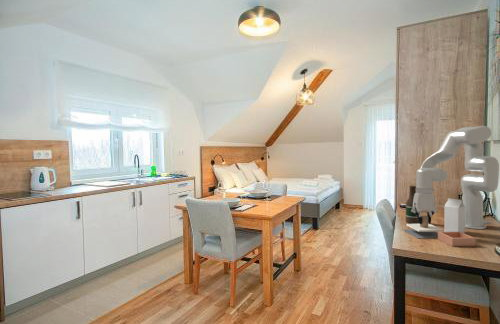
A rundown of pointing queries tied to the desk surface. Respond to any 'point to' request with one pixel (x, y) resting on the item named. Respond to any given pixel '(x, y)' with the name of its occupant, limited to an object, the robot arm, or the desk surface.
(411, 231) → the mat
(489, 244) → the desk surface
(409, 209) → the beer bottle
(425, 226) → the cover
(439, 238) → the terracotta square tray
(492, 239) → the desk surface
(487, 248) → the desk surface
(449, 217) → the milk carton
